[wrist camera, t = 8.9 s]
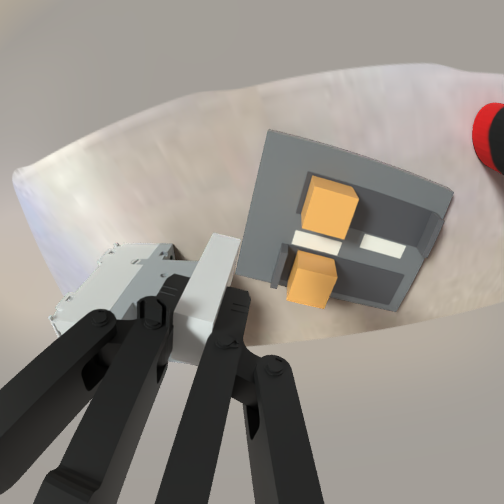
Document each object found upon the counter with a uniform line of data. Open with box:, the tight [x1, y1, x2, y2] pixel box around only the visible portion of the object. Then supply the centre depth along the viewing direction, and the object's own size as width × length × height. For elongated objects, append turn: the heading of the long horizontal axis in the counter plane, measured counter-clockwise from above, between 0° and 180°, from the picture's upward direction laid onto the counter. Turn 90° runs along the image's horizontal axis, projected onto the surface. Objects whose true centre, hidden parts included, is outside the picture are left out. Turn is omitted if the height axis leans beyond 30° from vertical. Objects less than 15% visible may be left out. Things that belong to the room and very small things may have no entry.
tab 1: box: [301, 175, 359, 239], centre depth 28 cm, size 4×4×4 cm
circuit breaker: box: [49, 243, 199, 364], centre depth 32 cm, size 8×14×15 cm, turn 93°
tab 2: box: [287, 250, 338, 309], centre depth 32 cm, size 4×4×4 cm
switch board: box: [235, 129, 454, 312], centre depth 31 cm, size 20×16×4 cm
